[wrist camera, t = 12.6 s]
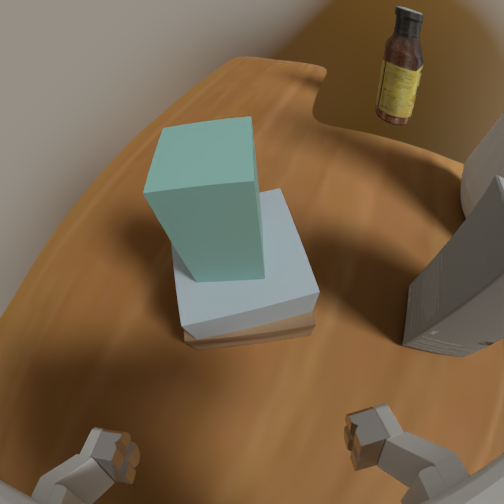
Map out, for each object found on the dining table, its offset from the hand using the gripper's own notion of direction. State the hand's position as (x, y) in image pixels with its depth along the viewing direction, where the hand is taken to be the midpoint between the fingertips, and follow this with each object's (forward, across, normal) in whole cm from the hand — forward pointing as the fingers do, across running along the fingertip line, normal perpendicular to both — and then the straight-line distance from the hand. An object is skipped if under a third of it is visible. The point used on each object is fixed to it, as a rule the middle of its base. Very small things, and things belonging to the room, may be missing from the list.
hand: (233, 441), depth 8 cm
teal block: (+12, 0, -4) cm, 13 cm away
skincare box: (+13, -19, +6) cm, 24 cm away
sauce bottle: (+36, -28, -16) cm, 48 cm away
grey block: (+15, 0, -1) cm, 15 cm away
